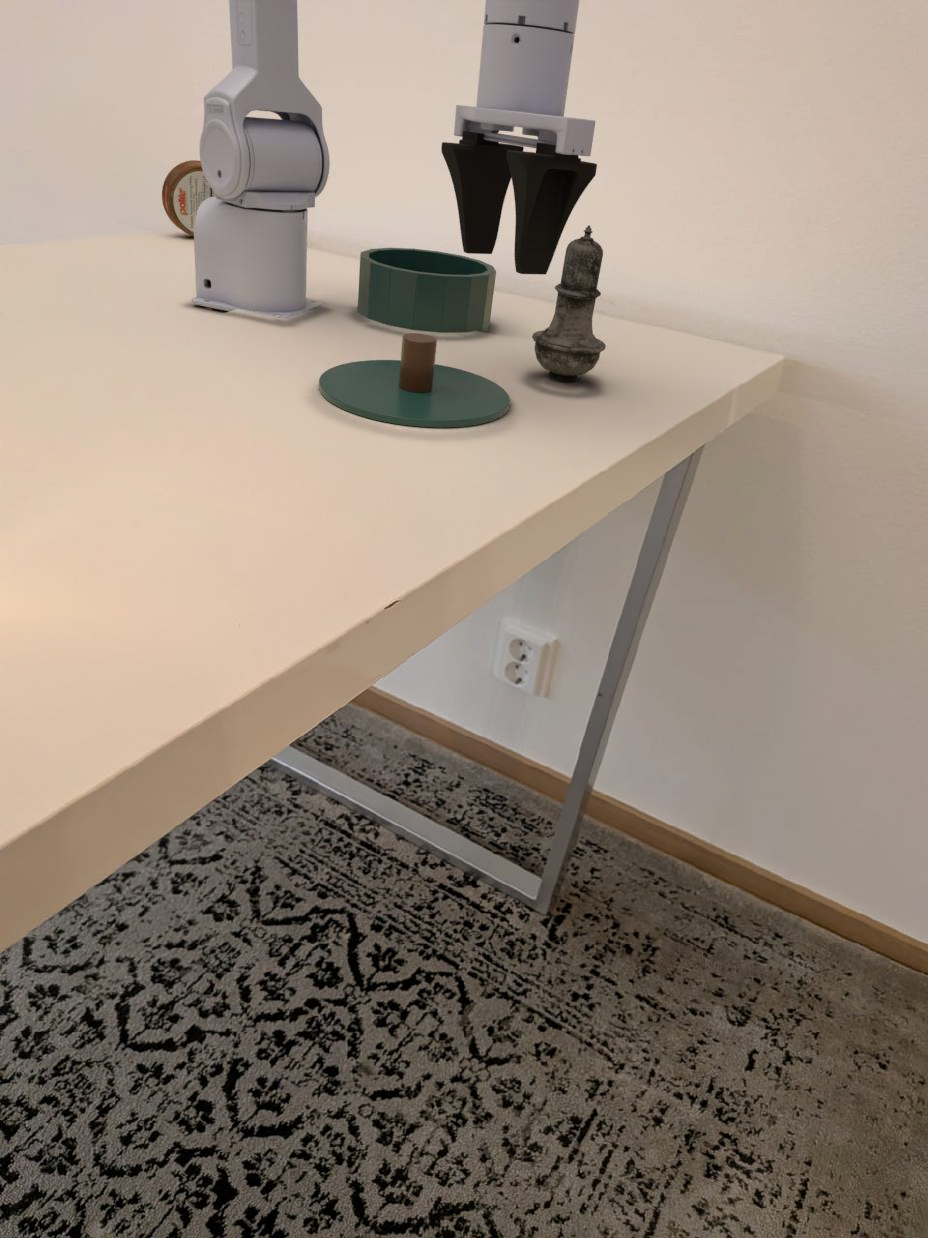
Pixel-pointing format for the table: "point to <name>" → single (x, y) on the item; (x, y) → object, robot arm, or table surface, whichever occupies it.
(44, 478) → the table surface
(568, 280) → the salt shaker
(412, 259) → the canister
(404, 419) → the lid
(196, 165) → the tin
